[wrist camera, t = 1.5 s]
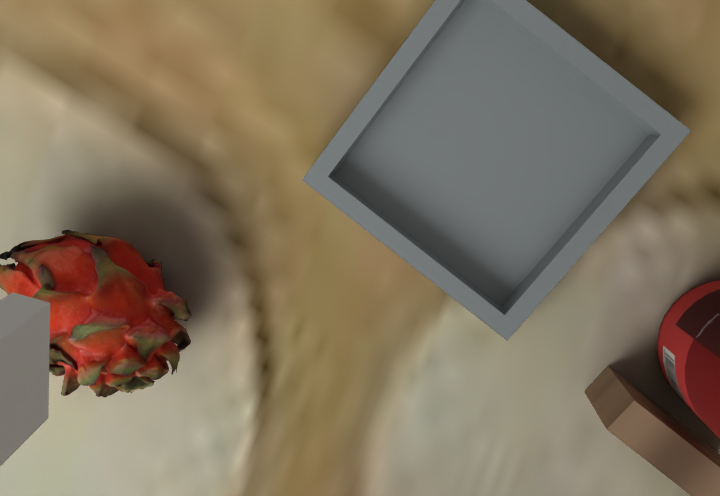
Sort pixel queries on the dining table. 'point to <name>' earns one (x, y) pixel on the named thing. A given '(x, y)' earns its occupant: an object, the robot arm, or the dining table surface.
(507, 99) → the tray
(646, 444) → the tan block
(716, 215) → the dining table surface
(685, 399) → the canned food
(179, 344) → the dragon fruit
